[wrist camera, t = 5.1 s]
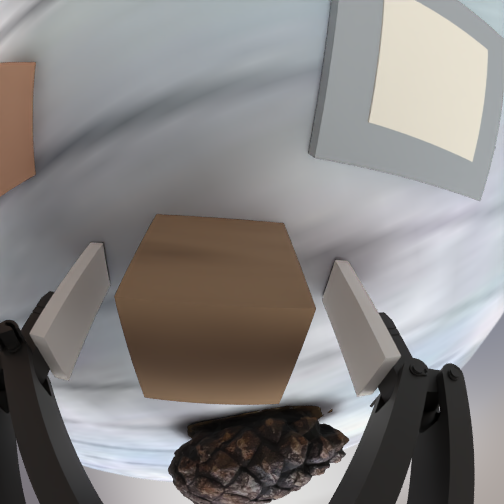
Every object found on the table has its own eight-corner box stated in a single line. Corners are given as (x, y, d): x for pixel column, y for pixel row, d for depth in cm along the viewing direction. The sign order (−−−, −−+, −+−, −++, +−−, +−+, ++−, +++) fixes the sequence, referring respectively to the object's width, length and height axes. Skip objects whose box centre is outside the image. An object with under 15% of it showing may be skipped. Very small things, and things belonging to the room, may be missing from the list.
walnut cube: (265, 314, 16) (278, 403, 11) (163, 309, 16) (144, 397, 10) (283, 222, 13) (315, 308, 8) (156, 213, 13) (114, 296, 7)
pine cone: (346, 411, 25) (368, 490, 17) (212, 449, 29) (214, 516, 20) (315, 374, 20) (343, 489, 12) (154, 422, 24) (147, 505, 16)
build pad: (469, 194, 13) (481, 202, 12) (308, 153, 11) (315, 158, 10) (494, 39, 7) (506, 40, 6) (336, -50, 6) (344, -59, 5)
